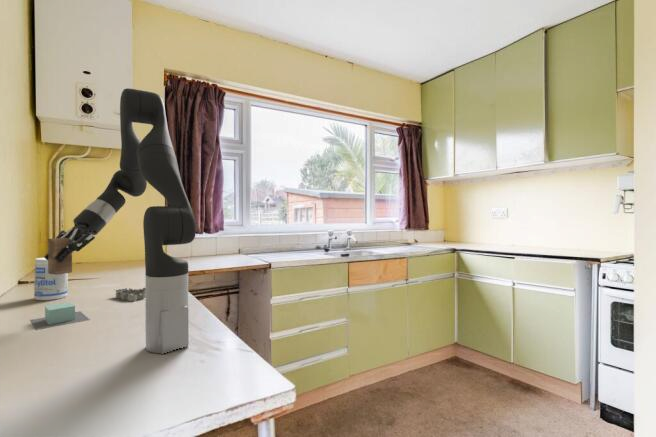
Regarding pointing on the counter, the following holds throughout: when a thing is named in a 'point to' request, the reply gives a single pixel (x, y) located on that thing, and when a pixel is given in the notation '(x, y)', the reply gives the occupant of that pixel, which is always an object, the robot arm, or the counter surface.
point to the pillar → (53, 250)
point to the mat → (43, 324)
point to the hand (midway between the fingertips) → (52, 259)
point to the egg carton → (131, 294)
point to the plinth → (59, 313)
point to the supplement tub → (48, 282)
